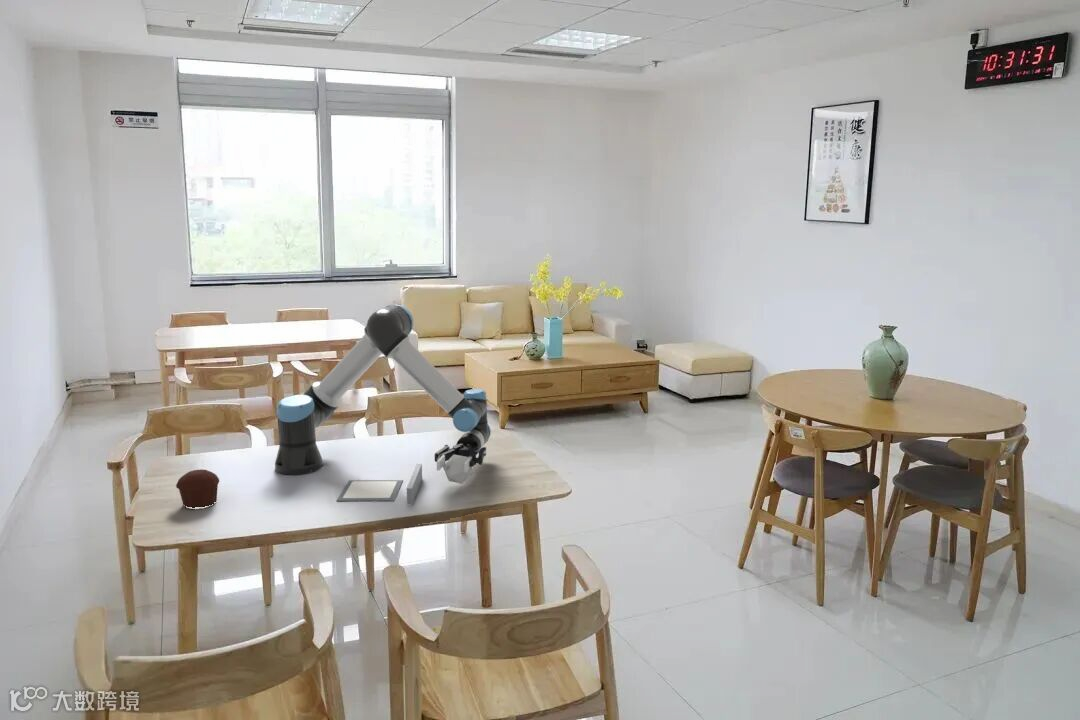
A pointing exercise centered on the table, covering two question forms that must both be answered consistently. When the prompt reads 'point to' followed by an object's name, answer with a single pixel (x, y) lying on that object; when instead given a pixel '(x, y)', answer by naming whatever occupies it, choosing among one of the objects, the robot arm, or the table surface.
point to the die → (457, 469)
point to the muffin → (198, 488)
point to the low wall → (414, 484)
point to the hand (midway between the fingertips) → (451, 467)
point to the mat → (370, 491)
